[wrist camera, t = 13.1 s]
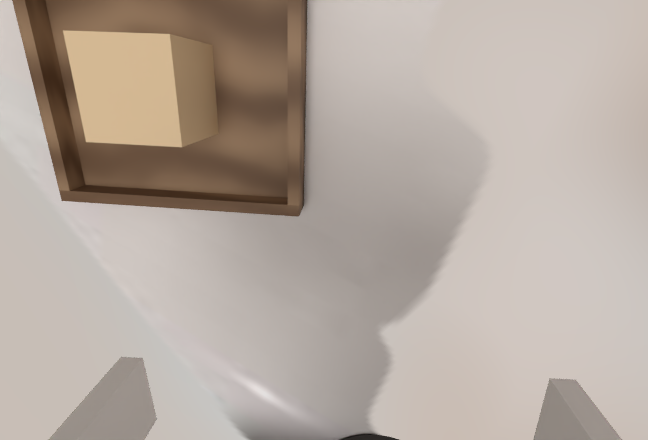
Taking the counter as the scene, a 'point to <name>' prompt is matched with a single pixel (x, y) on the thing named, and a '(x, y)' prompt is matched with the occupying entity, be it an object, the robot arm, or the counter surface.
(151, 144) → the tan block
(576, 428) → the robot arm
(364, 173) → the counter surface
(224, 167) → the tray
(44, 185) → the counter surface
